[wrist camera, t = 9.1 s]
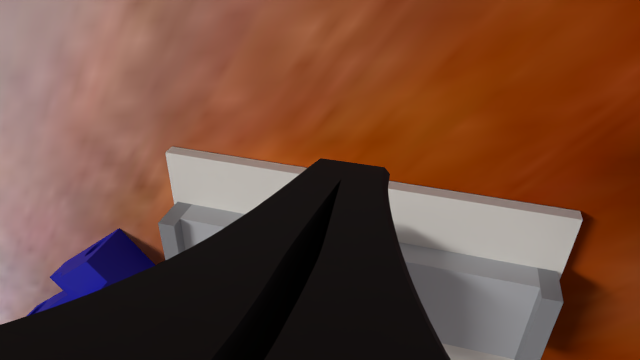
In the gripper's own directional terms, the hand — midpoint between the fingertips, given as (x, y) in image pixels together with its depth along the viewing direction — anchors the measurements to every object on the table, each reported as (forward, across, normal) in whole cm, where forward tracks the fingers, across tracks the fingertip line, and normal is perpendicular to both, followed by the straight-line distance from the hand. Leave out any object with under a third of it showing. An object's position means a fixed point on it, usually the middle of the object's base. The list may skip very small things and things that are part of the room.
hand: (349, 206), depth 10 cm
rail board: (+10, +1, +11) cm, 15 cm away
